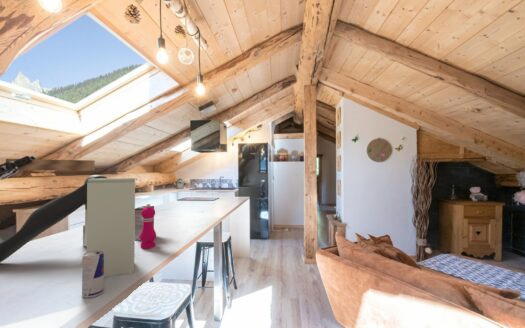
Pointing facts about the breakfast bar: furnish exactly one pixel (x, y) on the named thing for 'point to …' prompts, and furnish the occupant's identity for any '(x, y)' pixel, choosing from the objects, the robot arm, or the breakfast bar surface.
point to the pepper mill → (148, 228)
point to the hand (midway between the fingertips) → (32, 158)
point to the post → (112, 222)
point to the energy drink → (92, 274)
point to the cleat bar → (57, 165)
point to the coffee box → (139, 222)
